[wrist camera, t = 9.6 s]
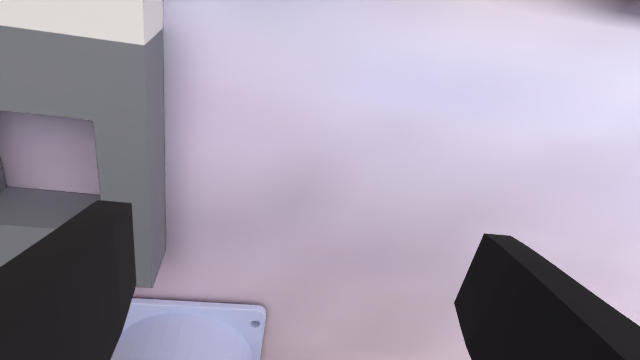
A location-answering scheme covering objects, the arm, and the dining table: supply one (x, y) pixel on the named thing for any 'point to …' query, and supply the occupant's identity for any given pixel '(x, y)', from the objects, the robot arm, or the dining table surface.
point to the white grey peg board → (89, 112)
